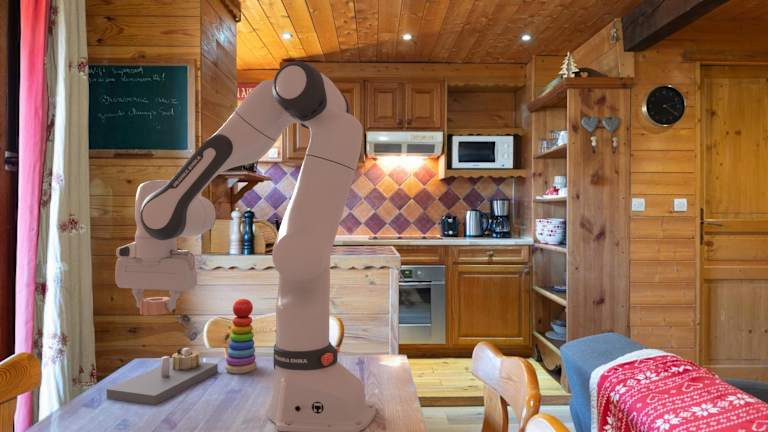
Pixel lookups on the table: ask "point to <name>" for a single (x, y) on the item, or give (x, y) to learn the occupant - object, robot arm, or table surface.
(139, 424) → the table surface
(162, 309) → the loose gear
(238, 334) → the stacking toy
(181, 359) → the gear
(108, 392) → the gear board
